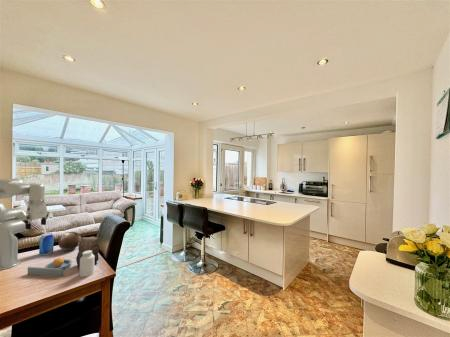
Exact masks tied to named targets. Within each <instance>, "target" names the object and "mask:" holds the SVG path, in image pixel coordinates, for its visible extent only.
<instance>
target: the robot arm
mask: <svg viewBox="0 0 450 337" xmlns="http://www.w3.org/2000/svg"><path fill="white" fill-rule="evenodd" d="M24 195H28V201H27V204H28V205H27V207H26V212H25V211H24V209H23V208H20V207H12V208H7V207H6V206H5V204H4V203H3V202H0V271H2V270H7V269H10V268H15V267H16V266H18V265H19V264H21V263H22V262H21V260H20V259H18V257H19V254H18V253H19V252H18V251H19V250H18V249H19V238H18V237H17V236H16V234H18V233H22V232H26V231H28V230H31V229H32V221H35V220H39V219H40V225H41V226H46V225H47V219H48V217H49V215H50V214H51V212H50V211H49V210H47V204H46V202H45V184H43V183H36V182H35V183H30V182H29V183H24V182H23V180H22V179H20V178H15V177H14V178H0V200H4V199H10V198H12V197H14V196H24Z"/></svg>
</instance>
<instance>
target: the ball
mask: <svg viewBox="0 0 450 337" xmlns="http://www.w3.org/2000/svg"><path fill="white" fill-rule="evenodd" d="M52 262H53V266H55V267H59V266H61V265H62V264H63V263H64V258H63V257H57V258H55V259H53V261H52Z"/></svg>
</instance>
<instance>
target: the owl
mask: <svg viewBox="0 0 450 337" xmlns="http://www.w3.org/2000/svg"><path fill="white" fill-rule="evenodd" d="M80 239H81V241H80V243H79V245H78V246H77V250H78V252H77V255H76V258H75V259H76V265H77V267H76V268H78V271H80V258H81V257H82V256H83V255H82V253H83V252H84V251H88V250H91V251H92V254H93V255H94V256H95V260H94V267H95V266H96V265H98V261H99V260H100V258H99V250H100V237H97V236H93V235H92V236H89V237H87V236H86V237H85V236H83V237H82V236H81V238H80Z"/></svg>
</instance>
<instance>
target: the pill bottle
mask: <svg viewBox="0 0 450 337" xmlns="http://www.w3.org/2000/svg"><path fill="white" fill-rule="evenodd" d="M82 255H83V256H82V257H81V258H80V270H79V276H80V278H81V277H82V278H86V277H90V276H92V275H93V274H94V273H95V266H94V260H95V256H94V255H93V254H92V251H91V250H88V251H84V252H83V253H82Z"/></svg>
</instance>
